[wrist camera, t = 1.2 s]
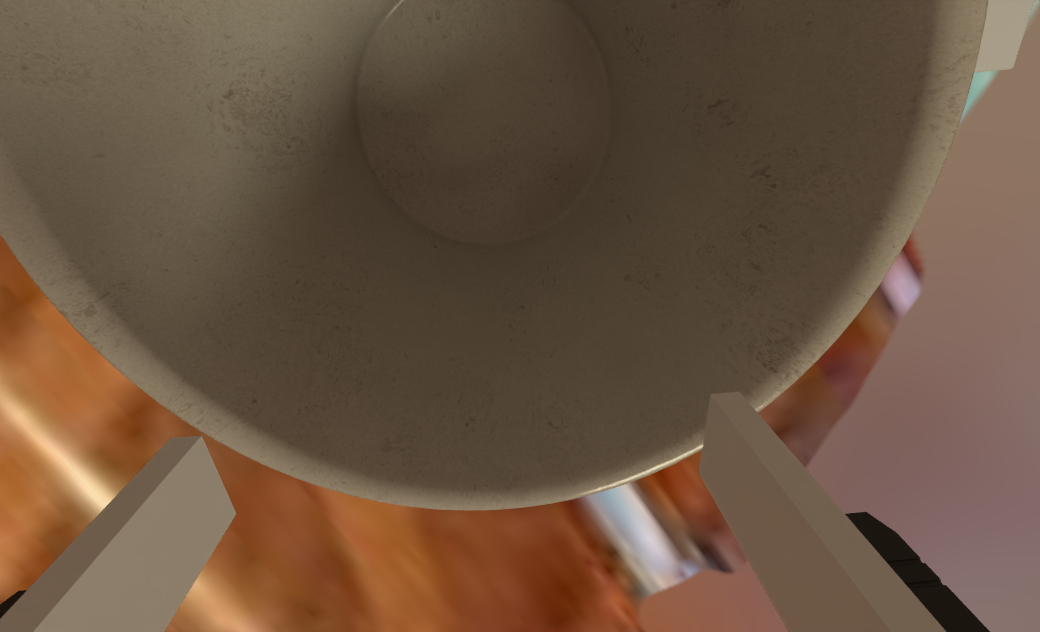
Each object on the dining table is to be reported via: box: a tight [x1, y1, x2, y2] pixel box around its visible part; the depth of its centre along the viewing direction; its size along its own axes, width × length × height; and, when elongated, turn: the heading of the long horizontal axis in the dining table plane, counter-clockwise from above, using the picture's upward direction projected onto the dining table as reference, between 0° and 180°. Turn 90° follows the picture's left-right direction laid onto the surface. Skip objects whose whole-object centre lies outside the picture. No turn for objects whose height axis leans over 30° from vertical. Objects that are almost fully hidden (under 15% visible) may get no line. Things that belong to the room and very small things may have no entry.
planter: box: [0, 0, 988, 510], centre depth 22 cm, size 26×26×22 cm
